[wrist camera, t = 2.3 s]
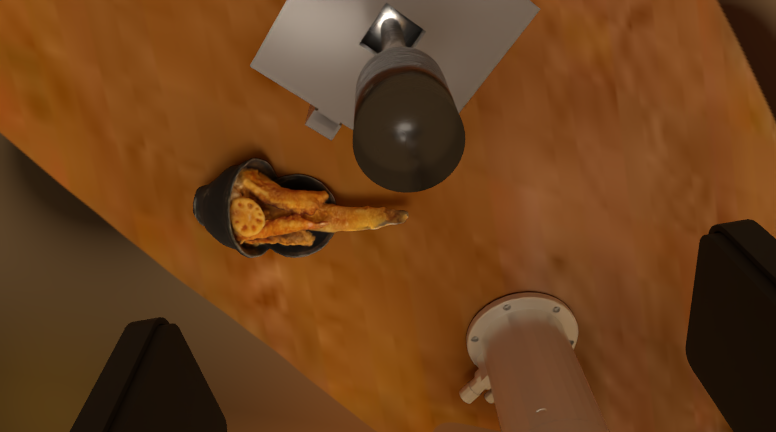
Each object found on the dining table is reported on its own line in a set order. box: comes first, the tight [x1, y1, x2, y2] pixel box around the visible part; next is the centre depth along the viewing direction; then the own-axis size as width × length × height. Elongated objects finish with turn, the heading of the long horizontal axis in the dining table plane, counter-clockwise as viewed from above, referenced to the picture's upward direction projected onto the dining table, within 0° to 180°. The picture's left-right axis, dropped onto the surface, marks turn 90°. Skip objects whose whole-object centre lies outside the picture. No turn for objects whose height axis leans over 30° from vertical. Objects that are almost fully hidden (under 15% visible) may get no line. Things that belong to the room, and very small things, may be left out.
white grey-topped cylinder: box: [250, 0, 540, 141], centre depth 38 cm, size 14×11×17 cm
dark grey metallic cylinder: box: [353, 3, 465, 192], centre depth 25 cm, size 8×8×17 cm
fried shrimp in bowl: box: [193, 158, 409, 258], centre depth 50 cm, size 9×11×18 cm
